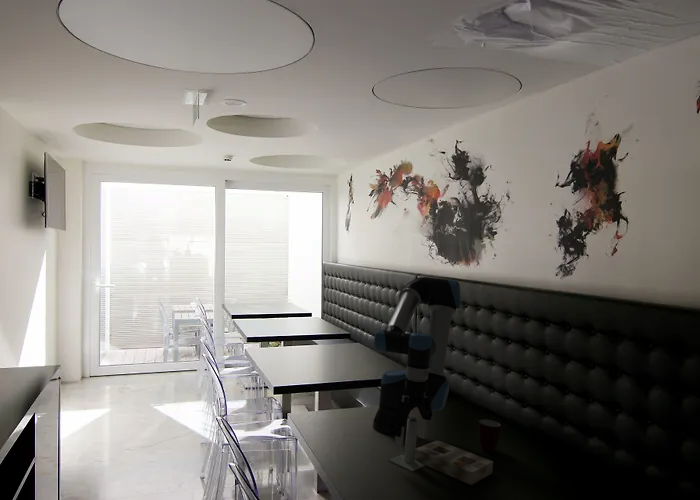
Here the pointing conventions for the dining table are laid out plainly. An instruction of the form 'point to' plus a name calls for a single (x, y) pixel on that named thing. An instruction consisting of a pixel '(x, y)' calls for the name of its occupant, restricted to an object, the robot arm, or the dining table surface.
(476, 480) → the socket block
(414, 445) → the plug
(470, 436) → the dining table surface
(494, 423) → the mug
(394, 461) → the pad
